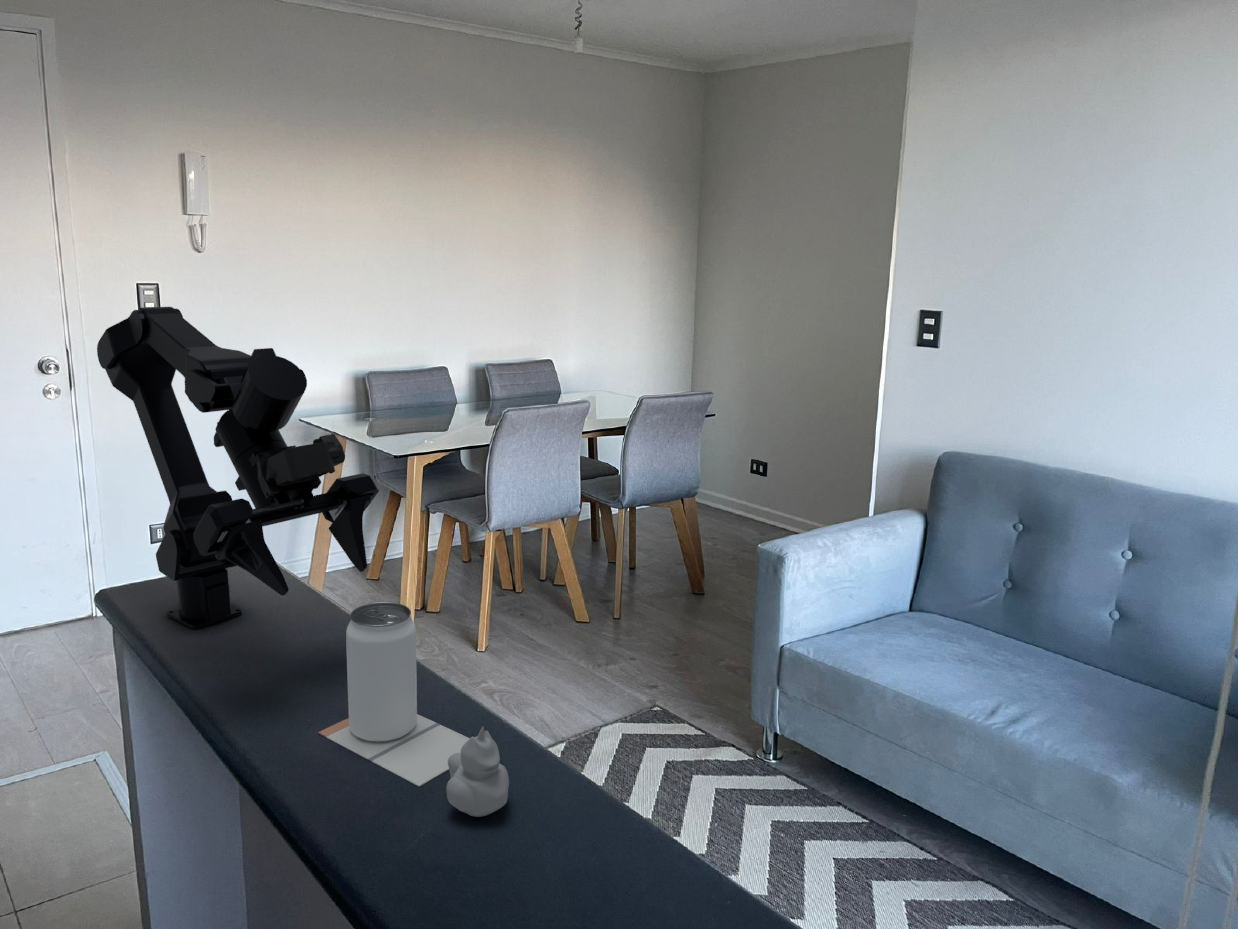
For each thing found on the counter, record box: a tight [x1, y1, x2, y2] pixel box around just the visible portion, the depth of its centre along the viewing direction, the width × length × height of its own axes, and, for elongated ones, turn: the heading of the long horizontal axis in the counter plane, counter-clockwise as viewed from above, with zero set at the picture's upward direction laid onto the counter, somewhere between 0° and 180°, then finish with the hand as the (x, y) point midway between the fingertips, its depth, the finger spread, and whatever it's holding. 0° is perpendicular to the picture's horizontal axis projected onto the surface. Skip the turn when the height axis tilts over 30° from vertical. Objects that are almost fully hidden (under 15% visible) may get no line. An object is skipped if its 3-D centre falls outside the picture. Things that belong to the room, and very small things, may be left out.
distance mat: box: [317, 713, 471, 788], centre depth 92 cm, size 14×8×1 cm, turn 54°
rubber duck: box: [445, 726, 510, 818], centre depth 81 cm, size 5×7×8 cm
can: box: [345, 601, 418, 743], centre depth 92 cm, size 6×6×12 cm
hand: (326, 581), depth 97 cm, fingers open, 9 cm apart
